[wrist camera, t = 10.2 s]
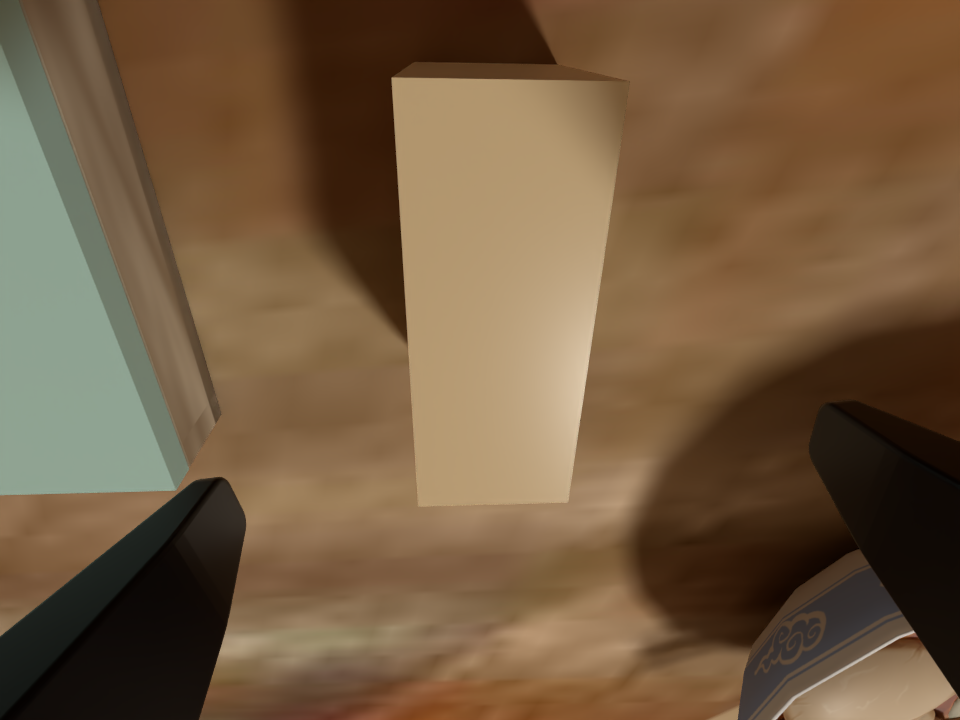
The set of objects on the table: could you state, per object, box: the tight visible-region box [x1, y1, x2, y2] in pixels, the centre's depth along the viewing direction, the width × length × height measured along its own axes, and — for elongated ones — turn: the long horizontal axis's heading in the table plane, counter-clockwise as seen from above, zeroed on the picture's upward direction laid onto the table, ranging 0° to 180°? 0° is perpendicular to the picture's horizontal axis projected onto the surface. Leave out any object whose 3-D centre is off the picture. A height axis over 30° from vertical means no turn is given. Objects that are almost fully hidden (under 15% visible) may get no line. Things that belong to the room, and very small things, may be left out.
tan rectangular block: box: [391, 62, 630, 507], centre depth 14 cm, size 4×10×7 cm, turn 179°
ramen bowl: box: [738, 549, 960, 720], centre depth 25 cm, size 25×23×8 cm
